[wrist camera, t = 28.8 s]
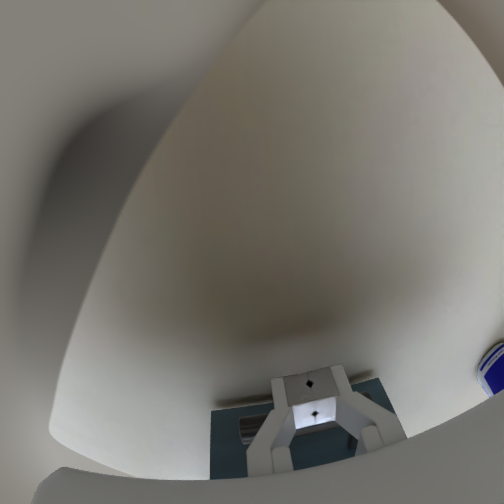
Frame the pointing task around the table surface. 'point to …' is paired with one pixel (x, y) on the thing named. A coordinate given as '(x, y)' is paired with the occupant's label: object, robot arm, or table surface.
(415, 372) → the table surface
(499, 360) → the beverage can
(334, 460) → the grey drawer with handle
